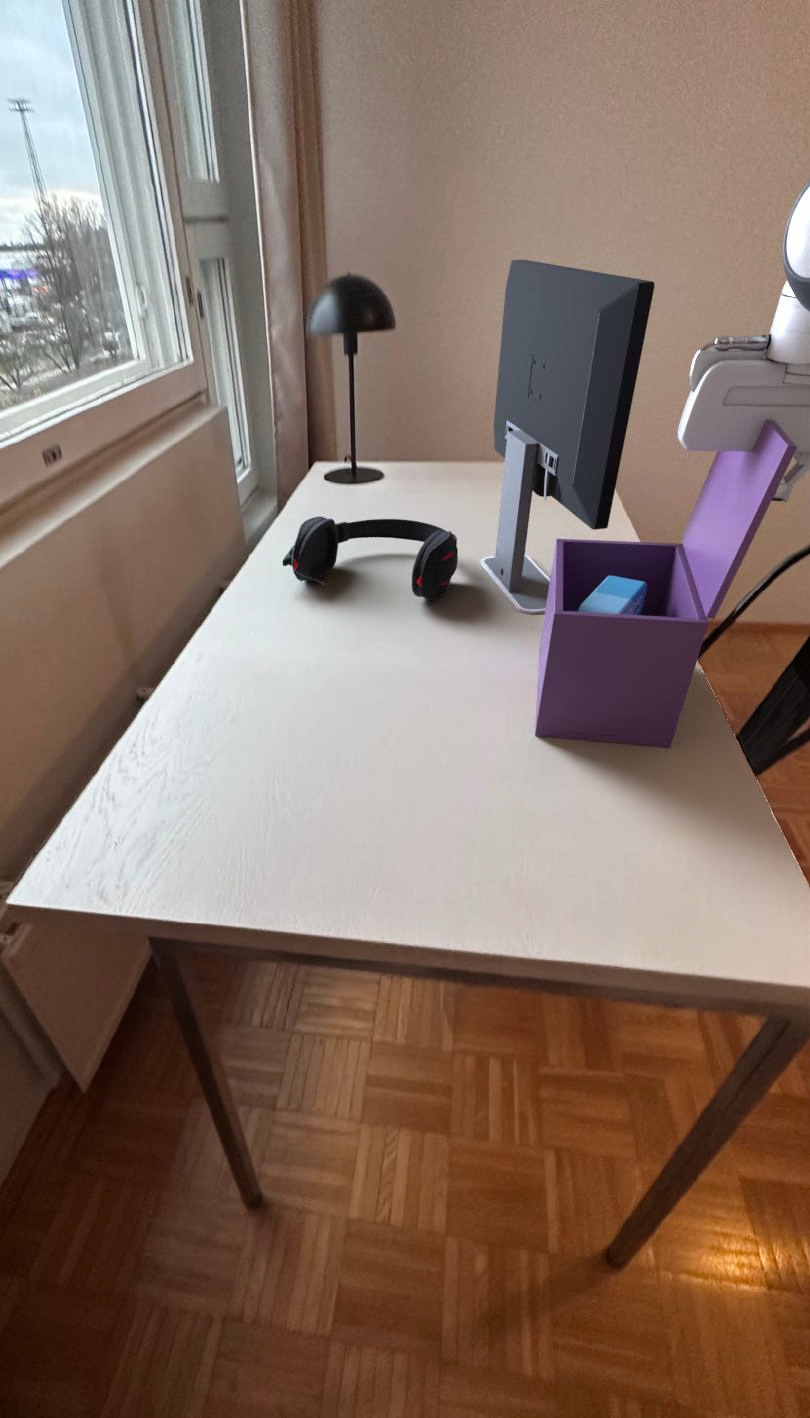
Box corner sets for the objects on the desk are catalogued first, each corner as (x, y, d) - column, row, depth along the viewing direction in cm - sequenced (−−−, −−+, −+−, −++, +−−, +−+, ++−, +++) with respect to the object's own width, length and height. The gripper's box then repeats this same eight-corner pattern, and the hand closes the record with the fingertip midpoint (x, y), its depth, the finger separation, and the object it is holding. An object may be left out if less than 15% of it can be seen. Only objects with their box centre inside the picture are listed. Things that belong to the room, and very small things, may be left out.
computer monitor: (601, 635, 103) (675, 280, 77) (543, 642, 102) (599, 285, 76) (507, 536, 134) (537, 258, 107) (462, 540, 133) (481, 261, 107)
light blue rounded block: (595, 713, 86) (616, 617, 78) (558, 703, 88) (575, 608, 80) (627, 670, 94) (649, 578, 86) (592, 661, 96) (611, 570, 88)
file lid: (787, 445, 61) (797, 447, 61) (742, 391, 77) (750, 392, 77) (706, 617, 72) (714, 619, 72) (680, 539, 88) (687, 540, 88)
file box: (534, 735, 85) (554, 613, 75) (539, 648, 101) (556, 538, 91) (670, 748, 82) (708, 622, 72) (653, 656, 98) (683, 543, 88)
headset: (284, 620, 111) (279, 562, 105) (286, 555, 131) (282, 504, 125) (470, 610, 111) (474, 552, 105) (443, 546, 131) (446, 495, 125)
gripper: (703, 341, 64) (663, 505, 73) (968, 339, 60) (891, 513, 70) (694, 330, 69) (658, 486, 78) (940, 328, 65) (871, 493, 74)
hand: (769, 499), depth 74 cm, fingers closed
